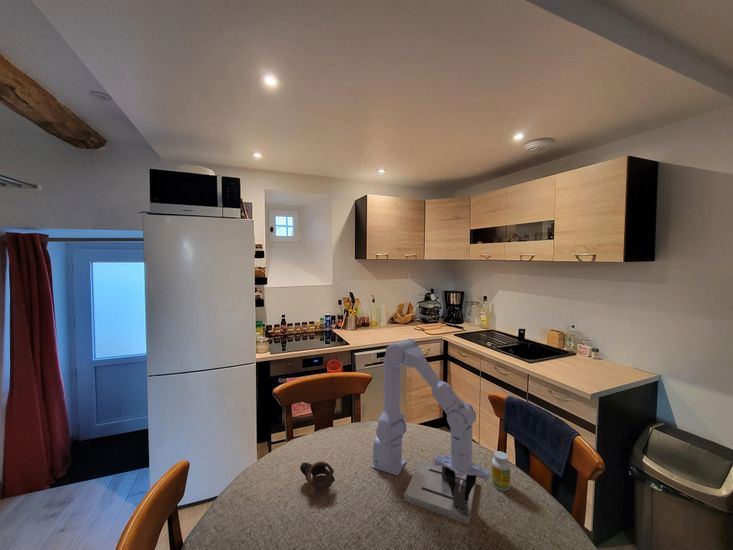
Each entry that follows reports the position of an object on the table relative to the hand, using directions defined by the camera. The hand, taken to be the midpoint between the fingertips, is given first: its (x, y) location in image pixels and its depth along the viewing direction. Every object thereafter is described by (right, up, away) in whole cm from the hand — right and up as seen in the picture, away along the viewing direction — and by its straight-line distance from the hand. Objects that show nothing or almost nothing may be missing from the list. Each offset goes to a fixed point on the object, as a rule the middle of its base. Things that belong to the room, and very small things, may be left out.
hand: (460, 496), depth 83 cm
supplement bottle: (+16, -4, +9) cm, 18 cm away
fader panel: (-4, -3, +6) cm, 8 cm away
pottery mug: (-42, -3, +9) cm, 43 cm away
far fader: (-1, -1, +10) cm, 10 cm away
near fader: (0, -1, 0) cm, 1 cm away
